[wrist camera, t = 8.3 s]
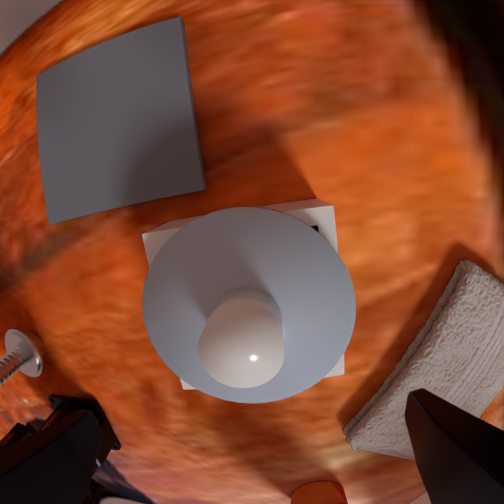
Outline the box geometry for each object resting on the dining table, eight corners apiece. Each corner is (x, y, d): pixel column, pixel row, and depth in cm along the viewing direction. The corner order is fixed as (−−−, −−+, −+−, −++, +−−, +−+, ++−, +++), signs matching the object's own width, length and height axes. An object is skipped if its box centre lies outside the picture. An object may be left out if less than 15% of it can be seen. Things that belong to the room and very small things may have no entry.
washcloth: (333, 432, 23) (339, 456, 20) (455, 249, 19) (478, 259, 16) (424, 450, 24) (433, 469, 21) (528, 304, 20) (548, 316, 17)
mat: (55, 223, 20) (49, 224, 19) (42, 77, 17) (36, 75, 16) (206, 189, 19) (204, 190, 18) (183, 21, 16) (180, 16, 15)
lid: (178, 396, 17) (158, 443, 13) (129, 226, 14) (85, 243, 10) (353, 378, 16) (370, 426, 12) (340, 190, 13) (366, 195, 10)
